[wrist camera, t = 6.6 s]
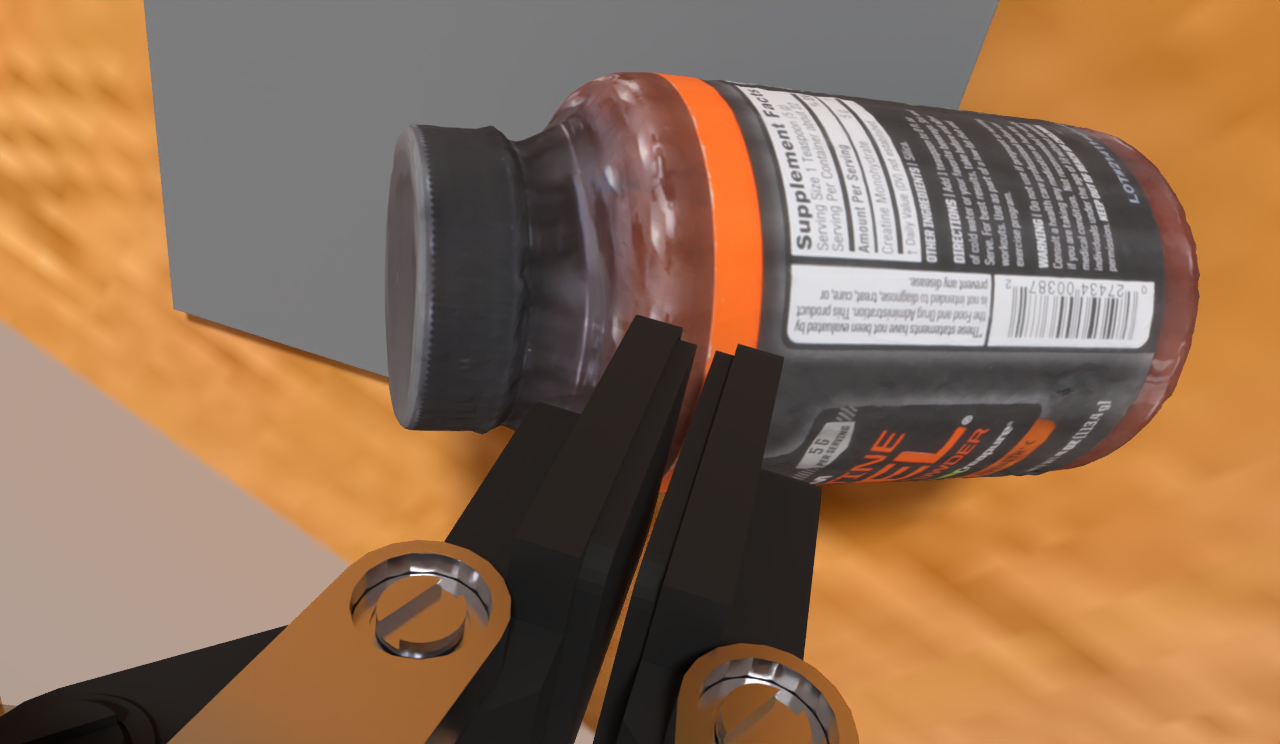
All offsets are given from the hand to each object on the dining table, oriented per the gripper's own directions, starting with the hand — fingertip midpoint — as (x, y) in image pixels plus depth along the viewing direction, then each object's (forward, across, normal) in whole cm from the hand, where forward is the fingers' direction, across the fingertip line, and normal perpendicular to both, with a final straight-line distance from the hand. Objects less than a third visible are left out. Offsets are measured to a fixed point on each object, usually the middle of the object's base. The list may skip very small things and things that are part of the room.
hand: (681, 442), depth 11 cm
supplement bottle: (+7, -6, 0) cm, 9 cm away
